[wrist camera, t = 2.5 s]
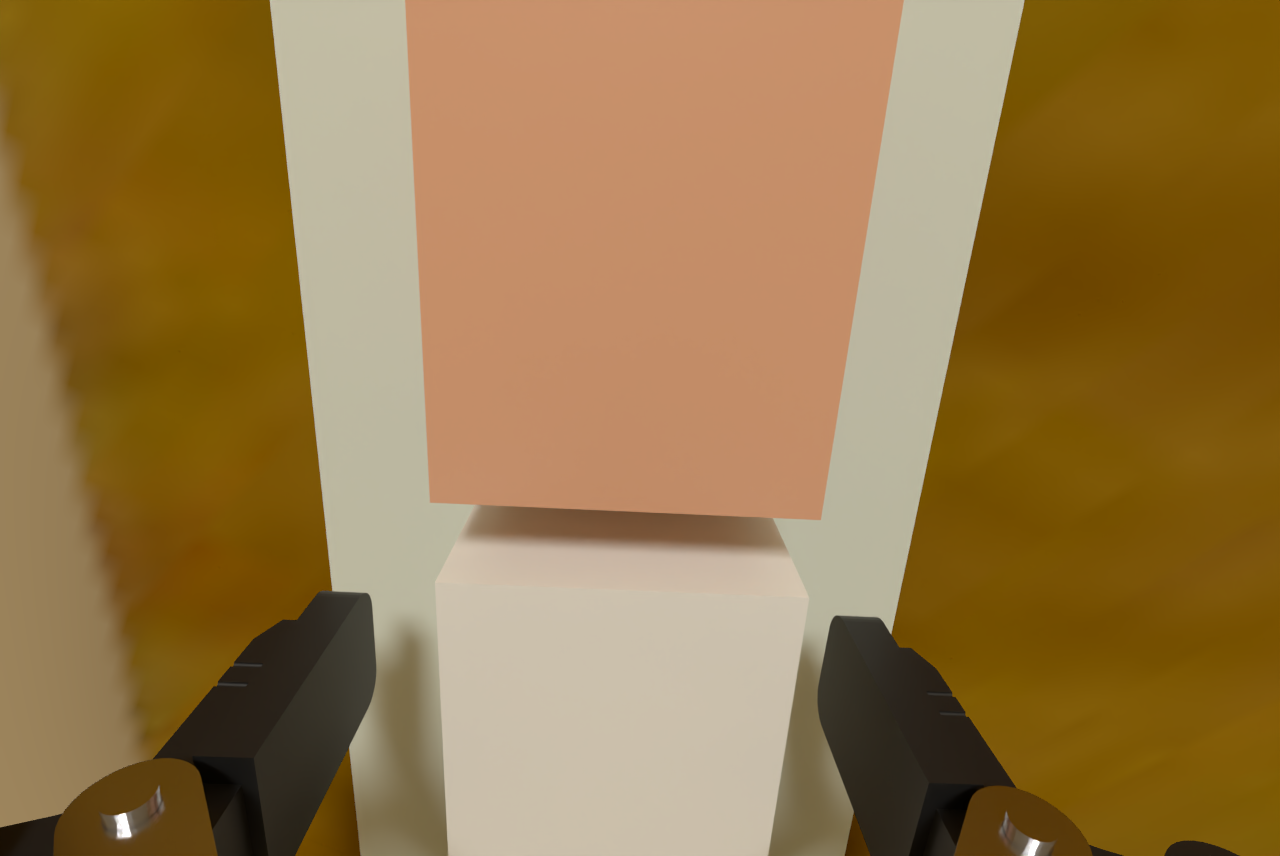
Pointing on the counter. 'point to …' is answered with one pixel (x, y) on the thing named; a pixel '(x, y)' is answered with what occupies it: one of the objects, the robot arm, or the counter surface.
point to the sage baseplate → (395, 400)
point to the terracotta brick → (641, 245)
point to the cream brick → (615, 682)
